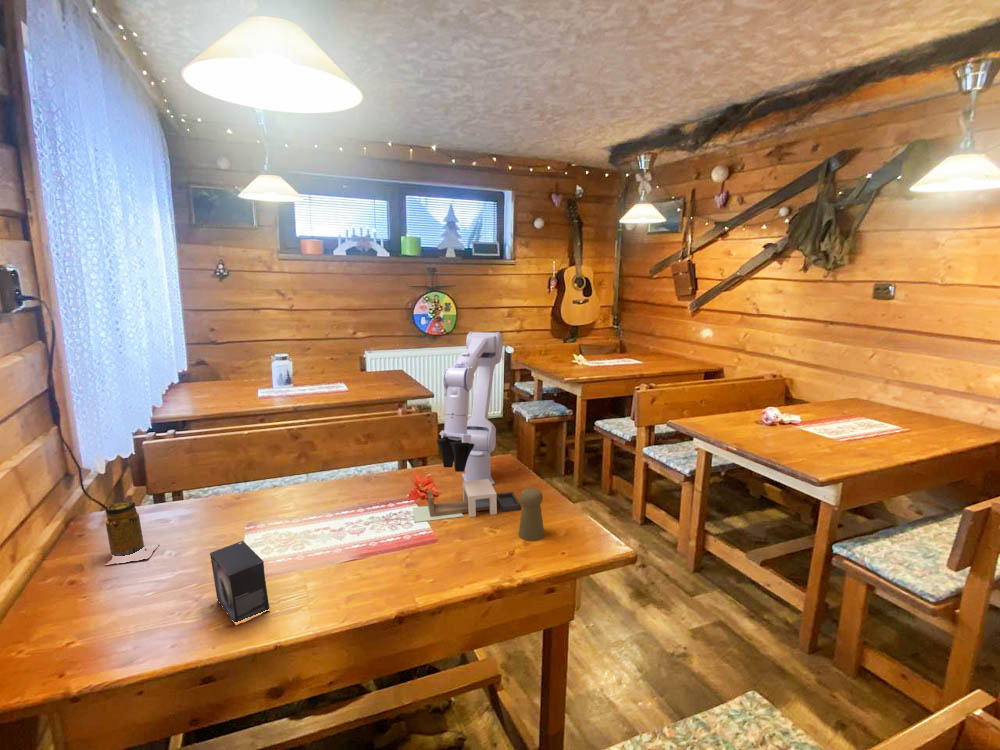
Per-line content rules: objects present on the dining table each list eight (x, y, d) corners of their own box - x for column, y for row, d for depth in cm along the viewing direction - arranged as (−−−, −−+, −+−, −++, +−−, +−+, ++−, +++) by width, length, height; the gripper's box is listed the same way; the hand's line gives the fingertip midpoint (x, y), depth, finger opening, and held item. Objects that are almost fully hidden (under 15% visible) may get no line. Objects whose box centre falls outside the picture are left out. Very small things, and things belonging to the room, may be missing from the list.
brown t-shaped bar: (428, 508, 139) (427, 490, 138) (492, 500, 143) (492, 483, 142) (430, 516, 134) (429, 498, 133) (496, 508, 138) (496, 490, 137)
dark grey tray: (494, 498, 144) (494, 494, 144) (512, 496, 146) (512, 492, 145) (501, 512, 137) (501, 506, 137) (520, 509, 138) (520, 504, 138)
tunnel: (463, 501, 143) (462, 481, 142) (488, 498, 145) (488, 478, 144) (469, 517, 134) (468, 496, 133) (496, 514, 136) (496, 493, 135)
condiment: (118, 549, 122) (109, 500, 119) (160, 544, 124) (152, 496, 121) (103, 567, 115) (94, 515, 112) (148, 561, 117) (139, 510, 114)
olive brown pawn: (545, 541, 122) (545, 496, 120) (518, 541, 122) (518, 496, 120) (543, 528, 128) (543, 485, 126) (518, 528, 128) (517, 485, 126)
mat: (412, 508, 140) (412, 507, 140) (458, 503, 142) (458, 502, 142) (414, 522, 132) (414, 521, 132) (463, 516, 135) (463, 515, 135)
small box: (214, 602, 102) (207, 551, 100) (249, 587, 107) (243, 539, 104) (234, 628, 95) (227, 574, 93) (271, 611, 99) (265, 559, 97)
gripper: (431, 413, 140) (428, 465, 139) (452, 415, 127) (449, 473, 126) (456, 414, 143) (453, 465, 142) (479, 416, 130) (476, 473, 129)
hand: (453, 469), depth 134 cm, fingers open, 7 cm apart
